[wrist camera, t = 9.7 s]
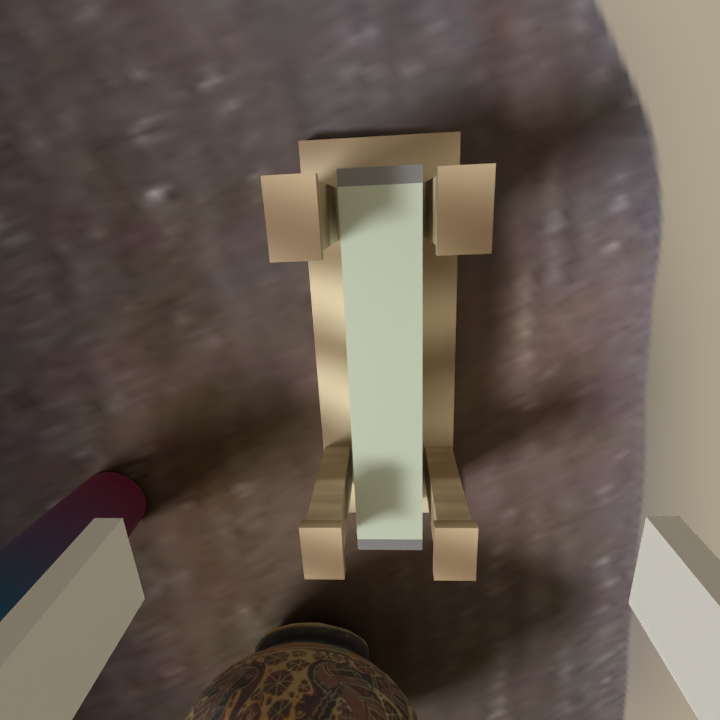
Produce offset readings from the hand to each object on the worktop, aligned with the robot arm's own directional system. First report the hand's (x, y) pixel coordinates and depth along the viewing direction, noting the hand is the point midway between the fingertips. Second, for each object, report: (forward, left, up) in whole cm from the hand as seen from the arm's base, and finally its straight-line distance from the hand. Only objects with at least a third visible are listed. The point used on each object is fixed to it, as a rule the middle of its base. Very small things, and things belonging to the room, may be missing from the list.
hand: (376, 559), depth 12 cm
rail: (+1, 0, -18) cm, 18 cm away
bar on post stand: (0, 0, -19) cm, 19 cm away
